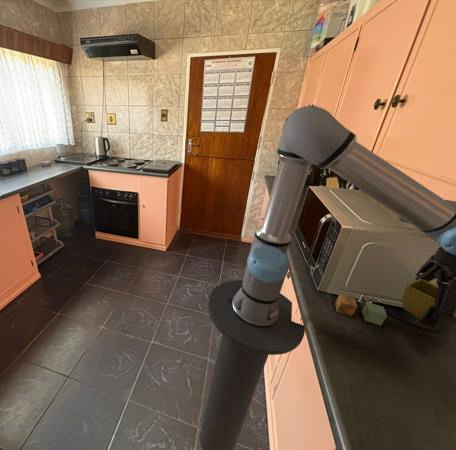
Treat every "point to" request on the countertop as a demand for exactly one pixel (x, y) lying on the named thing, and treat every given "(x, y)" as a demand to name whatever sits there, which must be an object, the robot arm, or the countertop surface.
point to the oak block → (345, 305)
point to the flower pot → (419, 297)
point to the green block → (374, 313)
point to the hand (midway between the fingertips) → (418, 310)
